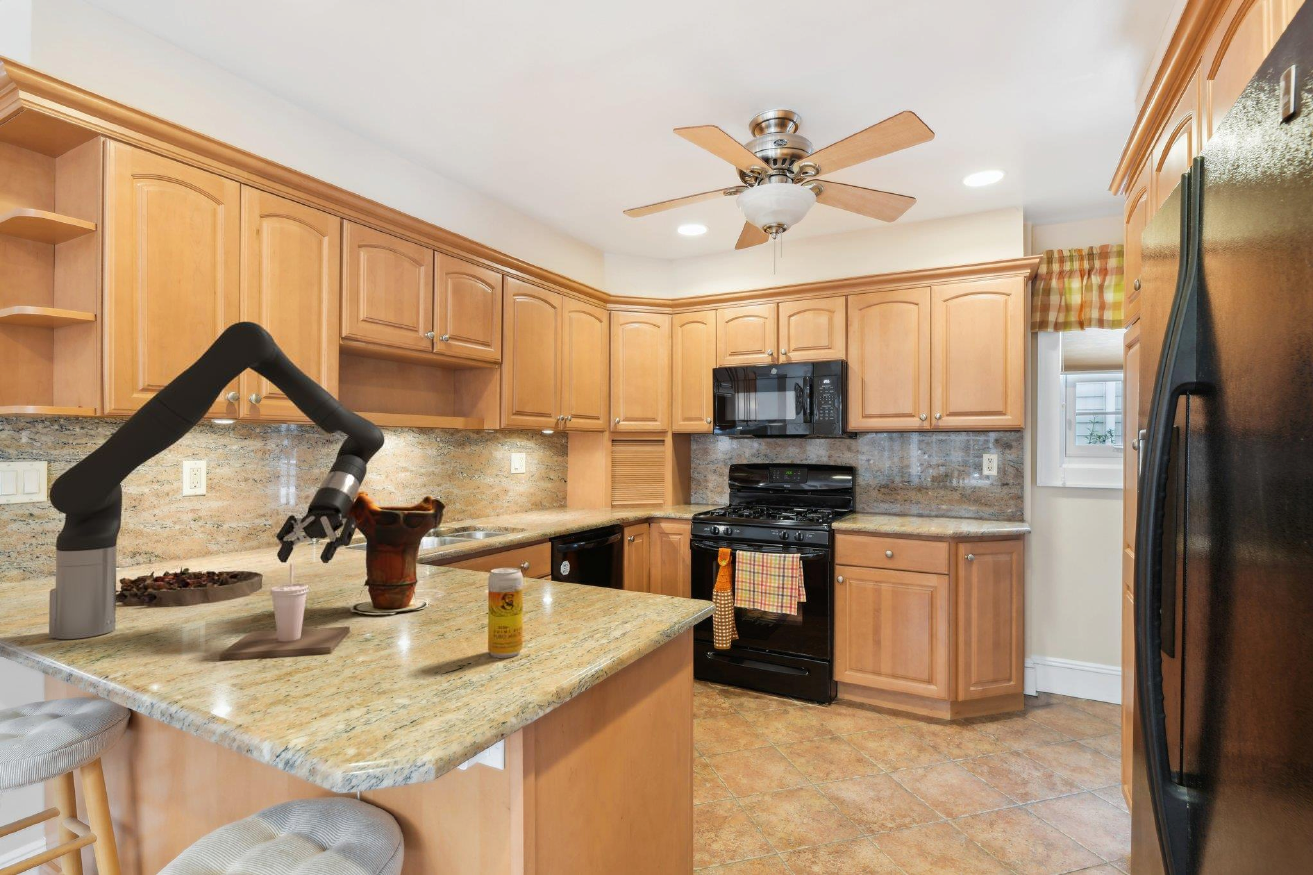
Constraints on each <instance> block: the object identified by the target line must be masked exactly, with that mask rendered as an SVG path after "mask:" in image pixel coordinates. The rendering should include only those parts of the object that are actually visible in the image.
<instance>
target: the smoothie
mask: <svg viewBox="0 0 1313 875" xmlns="http://www.w3.org/2000/svg"><path fill="white" fill-rule="evenodd" d="M269 591H270V592H269V595H270V596H271V597H272V604H273V611H274V612H273V613H274V619H275V627H276V631H277V635H278V641H293V640H297V639H299V638H300V637H301V630H302V629H303V622H304V614H305V607H306V606H305V605H306V601H307V600H306V599H307V592H309V591H310V590H309V585H308V584H304V583H294V563H289V584H282V585H278V586H274V587H272V588H270V590H269Z"/></svg>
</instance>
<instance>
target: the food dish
mask: <svg viewBox="0 0 1313 875" xmlns="http://www.w3.org/2000/svg"><path fill="white" fill-rule="evenodd" d="M180 567H181V568H180V571H179V572H177V571H175V572H172V573H170V572H169V571H168V570H166V571H164V573H163V574H162V575H158V576H157V575H155V576H154V573H155V571H152V572H150V575H145V574H144V575H138V576H137V577H136V578H134V579H131V578H125V577H123V578H120V579H119V583H120V590H117V589H116V604H119V603H122V606H123V607H162V608H176V607H177V608H179V607H182V608H183V607H191V606H197V605H202V604H204V605H205V604H213V603H218V602H225V601H231V600H236V599H240V598H245V597H249V596H251V595H252V594H254V593H256V592H258V591H259V590H261V589H262V588H263V576H264V575H263V574H262V573H261V572H257V571H249V570H248V571H247V570H231V571H229V570H228V571H227V570H226V571H225V570H224V571H222V570H221V571H217V572H216V571H215V570H214V571H212V570H211V571H210V570H207V571H206V572H205V571H203V570H202V571H201V570H199V571H191V570H190V568H189V567H186V568H183V566H180Z"/></svg>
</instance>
